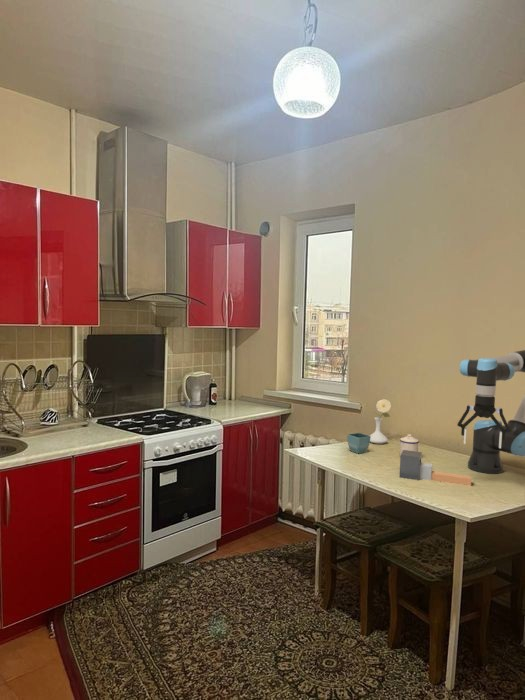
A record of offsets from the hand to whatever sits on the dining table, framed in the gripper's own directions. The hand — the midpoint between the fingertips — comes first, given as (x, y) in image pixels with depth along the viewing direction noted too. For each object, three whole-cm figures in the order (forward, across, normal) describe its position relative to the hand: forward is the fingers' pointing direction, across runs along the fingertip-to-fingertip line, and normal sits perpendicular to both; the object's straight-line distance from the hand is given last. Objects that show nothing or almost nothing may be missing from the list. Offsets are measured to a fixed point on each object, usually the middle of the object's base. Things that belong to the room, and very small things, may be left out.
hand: (482, 445), depth 212 cm
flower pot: (+18, +58, -27) cm, 66 cm away
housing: (+17, +28, +1) cm, 33 cm away
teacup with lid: (+17, +34, -31) cm, 49 cm away
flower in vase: (+17, +52, -53) cm, 76 cm away
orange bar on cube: (+17, +14, +1) cm, 22 cm away
